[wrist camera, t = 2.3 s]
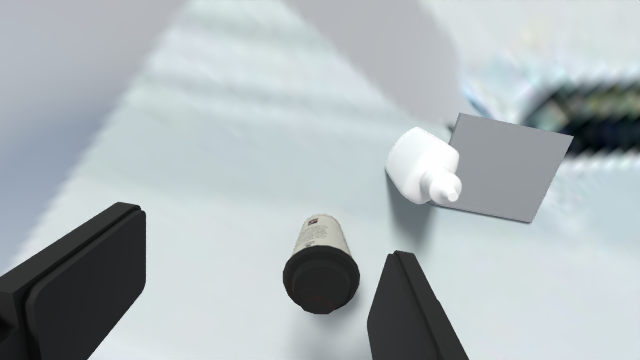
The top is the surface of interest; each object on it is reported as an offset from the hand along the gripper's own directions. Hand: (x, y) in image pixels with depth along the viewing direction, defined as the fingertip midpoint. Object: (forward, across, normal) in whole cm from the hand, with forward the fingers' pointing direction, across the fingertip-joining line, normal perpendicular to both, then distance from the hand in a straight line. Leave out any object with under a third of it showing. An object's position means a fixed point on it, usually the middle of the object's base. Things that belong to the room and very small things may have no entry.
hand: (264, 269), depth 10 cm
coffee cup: (+23, -4, +11) cm, 26 cm away
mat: (+23, -21, 0) cm, 31 cm away
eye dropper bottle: (+23, -11, 0) cm, 26 cm away
